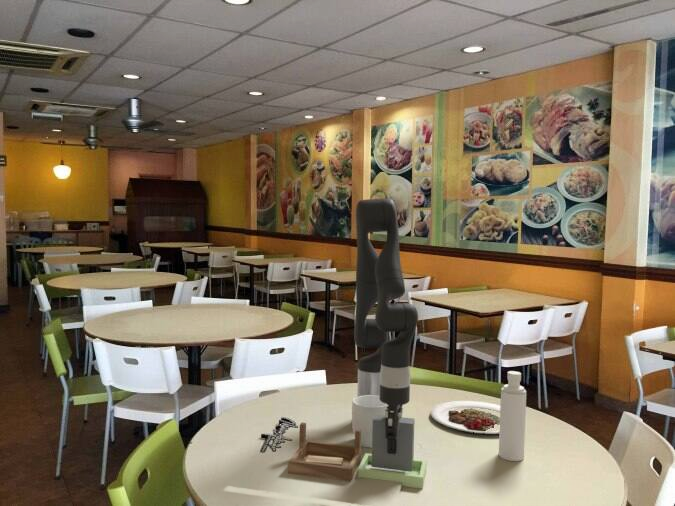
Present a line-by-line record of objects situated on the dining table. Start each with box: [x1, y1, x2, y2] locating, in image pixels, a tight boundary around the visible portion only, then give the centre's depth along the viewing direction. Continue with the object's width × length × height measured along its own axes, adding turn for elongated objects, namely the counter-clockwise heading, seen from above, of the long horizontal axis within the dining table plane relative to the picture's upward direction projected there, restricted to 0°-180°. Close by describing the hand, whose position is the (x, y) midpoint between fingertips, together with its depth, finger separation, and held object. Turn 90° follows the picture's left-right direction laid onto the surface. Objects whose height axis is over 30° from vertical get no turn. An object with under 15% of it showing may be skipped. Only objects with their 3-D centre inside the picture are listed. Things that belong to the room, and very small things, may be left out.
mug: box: [351, 395, 388, 449], centre depth 160 cm, size 15×11×13 cm
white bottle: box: [498, 370, 527, 462], centre depth 153 cm, size 7×7×25 cm
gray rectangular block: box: [371, 415, 415, 472], centre depth 140 cm, size 4×10×12 cm, turn 76°
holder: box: [357, 452, 427, 490], centre depth 141 cm, size 10×16×3 cm, turn 76°
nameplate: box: [259, 416, 299, 453], centre depth 165 cm, size 28×2×10 cm
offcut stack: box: [305, 455, 344, 466], centre depth 140 cm, size 4×10×3 cm, turn 76°
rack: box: [288, 422, 364, 482], centre depth 144 cm, size 14×16×10 cm
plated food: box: [430, 400, 500, 435], centre depth 182 cm, size 30×30×3 cm
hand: (393, 449), depth 140 cm, fingers closed on gray rectangular block, 4 cm apart
